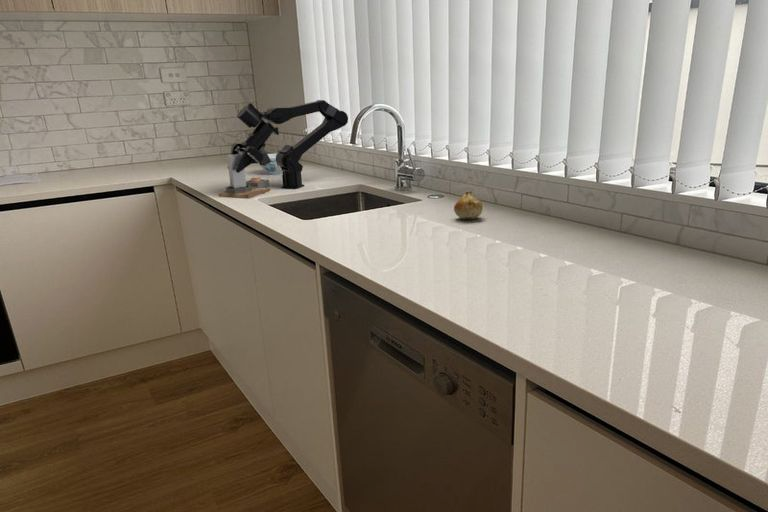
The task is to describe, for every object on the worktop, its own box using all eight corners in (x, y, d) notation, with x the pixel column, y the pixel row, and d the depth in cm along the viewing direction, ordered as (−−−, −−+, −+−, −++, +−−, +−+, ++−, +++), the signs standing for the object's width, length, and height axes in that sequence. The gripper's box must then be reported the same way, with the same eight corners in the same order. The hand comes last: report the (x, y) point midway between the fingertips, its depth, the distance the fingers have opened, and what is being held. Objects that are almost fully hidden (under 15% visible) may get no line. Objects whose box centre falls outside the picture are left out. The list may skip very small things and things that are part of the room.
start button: (263, 183, 220) (263, 177, 219) (257, 185, 216) (256, 179, 216) (255, 183, 222) (254, 177, 221) (248, 185, 218) (248, 178, 217)
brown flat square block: (270, 191, 210) (269, 184, 209) (248, 198, 199) (247, 190, 198) (242, 189, 216) (241, 182, 215) (219, 196, 204) (218, 188, 204)
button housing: (269, 186, 221) (268, 179, 220) (258, 189, 215) (257, 182, 214) (254, 185, 224) (254, 179, 223) (243, 188, 218) (242, 182, 217)
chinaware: (276, 169, 261) (274, 152, 259) (299, 172, 253) (298, 154, 251) (251, 174, 250) (249, 157, 248) (275, 177, 241) (273, 158, 239)
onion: (448, 218, 162) (448, 190, 160) (472, 214, 165) (473, 187, 163) (462, 223, 155) (462, 194, 153) (487, 220, 158) (488, 191, 156)
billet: (242, 189, 209) (239, 153, 205) (246, 191, 206) (242, 154, 202) (231, 191, 207) (226, 154, 203) (234, 192, 203) (230, 156, 200)
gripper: (285, 153, 203) (258, 188, 200) (266, 148, 218) (241, 181, 216) (262, 132, 196) (234, 168, 194) (244, 129, 211) (218, 162, 209)
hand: (232, 170), depth 203 cm, fingers open, 9 cm apart
